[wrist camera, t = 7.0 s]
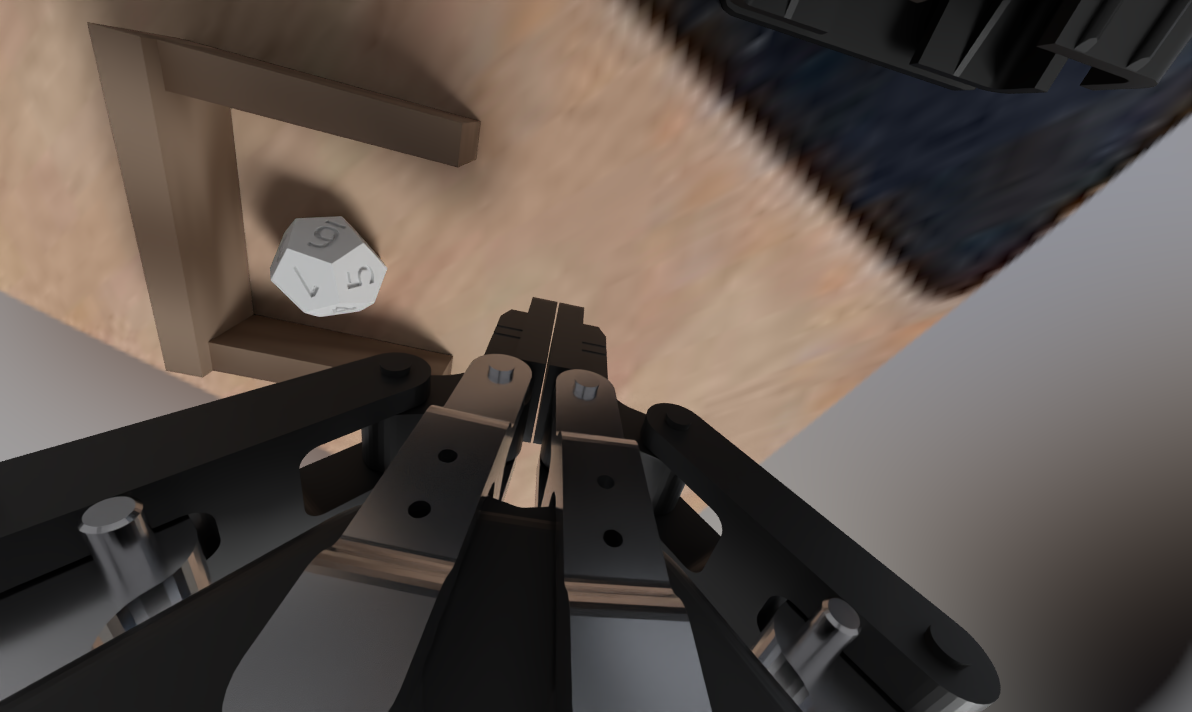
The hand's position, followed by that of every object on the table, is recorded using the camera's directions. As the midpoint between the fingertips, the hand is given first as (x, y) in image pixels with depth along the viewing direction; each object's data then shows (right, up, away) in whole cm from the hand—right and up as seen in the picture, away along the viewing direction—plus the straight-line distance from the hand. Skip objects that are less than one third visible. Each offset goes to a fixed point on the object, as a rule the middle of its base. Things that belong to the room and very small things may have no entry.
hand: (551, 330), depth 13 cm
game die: (-8, +3, +4) cm, 10 cm away
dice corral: (-8, +3, +4) cm, 9 cm away
